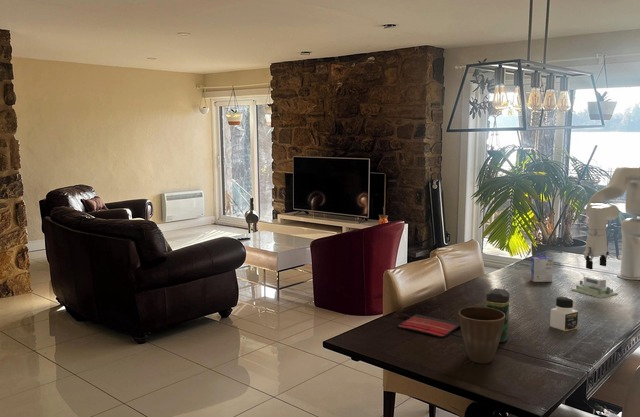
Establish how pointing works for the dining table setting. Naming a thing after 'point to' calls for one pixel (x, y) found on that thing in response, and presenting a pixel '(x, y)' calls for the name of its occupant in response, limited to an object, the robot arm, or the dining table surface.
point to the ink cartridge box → (541, 268)
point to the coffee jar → (500, 307)
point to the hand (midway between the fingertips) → (596, 267)
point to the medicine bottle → (564, 314)
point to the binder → (429, 326)
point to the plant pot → (481, 332)
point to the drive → (594, 283)
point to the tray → (594, 291)
